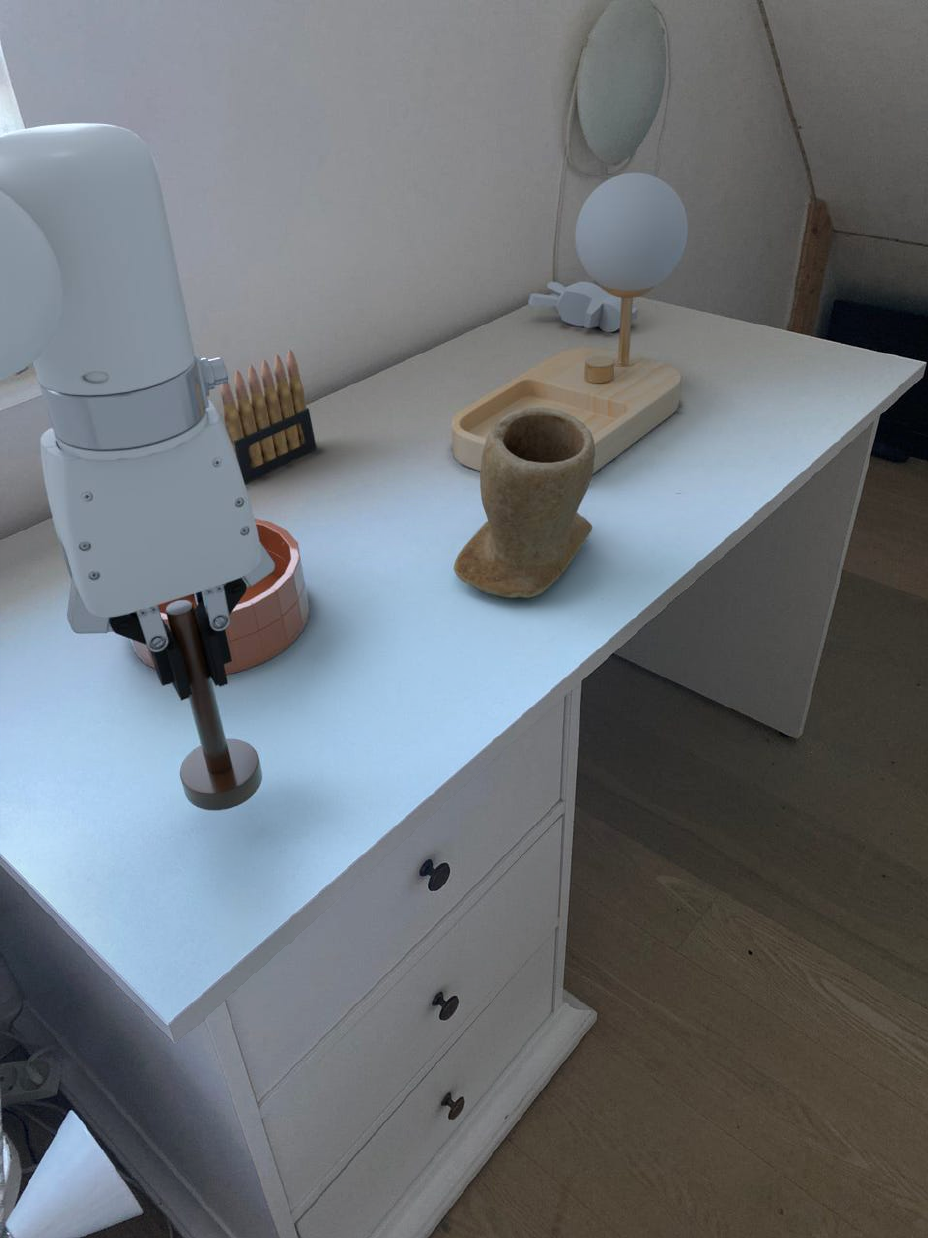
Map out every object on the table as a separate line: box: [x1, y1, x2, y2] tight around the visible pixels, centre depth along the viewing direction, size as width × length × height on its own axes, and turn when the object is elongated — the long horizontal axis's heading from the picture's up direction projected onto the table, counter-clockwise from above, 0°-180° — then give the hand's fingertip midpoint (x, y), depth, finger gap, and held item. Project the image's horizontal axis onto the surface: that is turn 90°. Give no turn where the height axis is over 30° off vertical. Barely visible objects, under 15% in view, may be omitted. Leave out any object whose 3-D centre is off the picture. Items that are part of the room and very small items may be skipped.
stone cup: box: [453, 407, 595, 599], centre depth 85 cm, size 15×12×15 cm
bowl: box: [129, 518, 310, 676], centre depth 82 cm, size 16×16×6 cm
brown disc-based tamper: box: [166, 600, 263, 812], centre depth 60 cm, size 5×5×15 cm
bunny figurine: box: [527, 280, 639, 333], centre depth 137 cm, size 10×5×15 cm
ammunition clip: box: [220, 349, 317, 484], centre depth 104 cm, size 11×2×12 cm, turn 137°
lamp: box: [451, 172, 689, 475], centre depth 105 cm, size 33×17×25 cm, turn 142°
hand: (197, 678), depth 59 cm, fingers closed on brown disc-based tamper
